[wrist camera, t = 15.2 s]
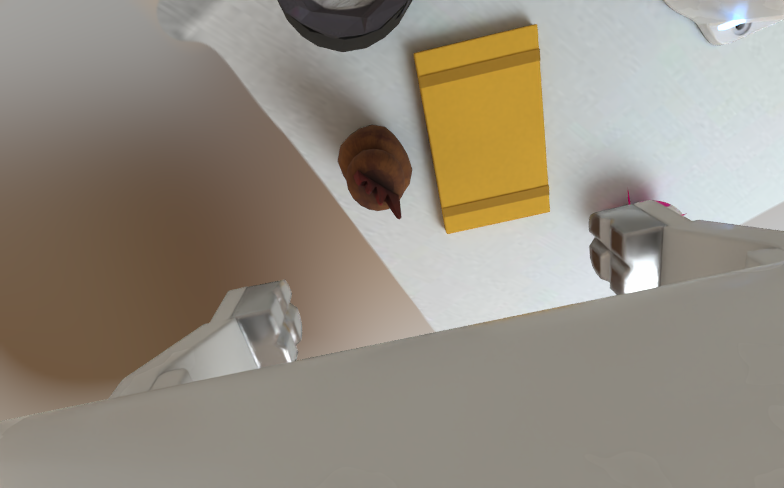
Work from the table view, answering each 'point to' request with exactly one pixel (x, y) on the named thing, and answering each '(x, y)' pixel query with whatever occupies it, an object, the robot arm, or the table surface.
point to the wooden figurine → (375, 168)
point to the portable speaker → (344, 21)
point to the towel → (486, 127)
